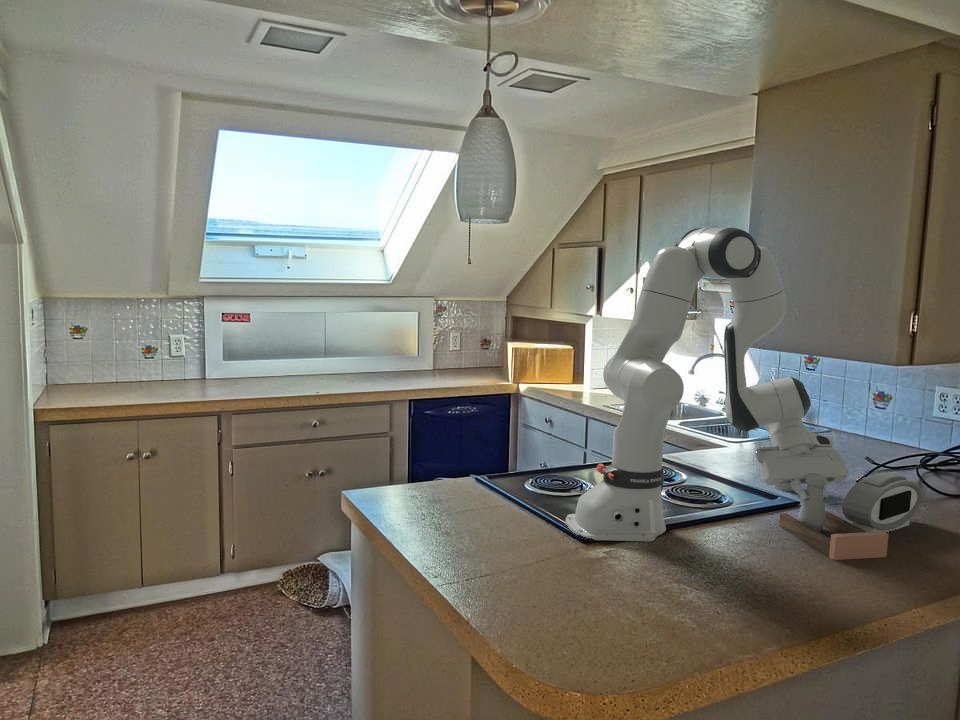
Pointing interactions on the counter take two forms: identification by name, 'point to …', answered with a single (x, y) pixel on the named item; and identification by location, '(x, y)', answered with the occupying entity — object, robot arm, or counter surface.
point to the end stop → (858, 545)
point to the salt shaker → (814, 503)
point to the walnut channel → (814, 536)
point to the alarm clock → (882, 502)
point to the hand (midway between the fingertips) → (815, 499)
